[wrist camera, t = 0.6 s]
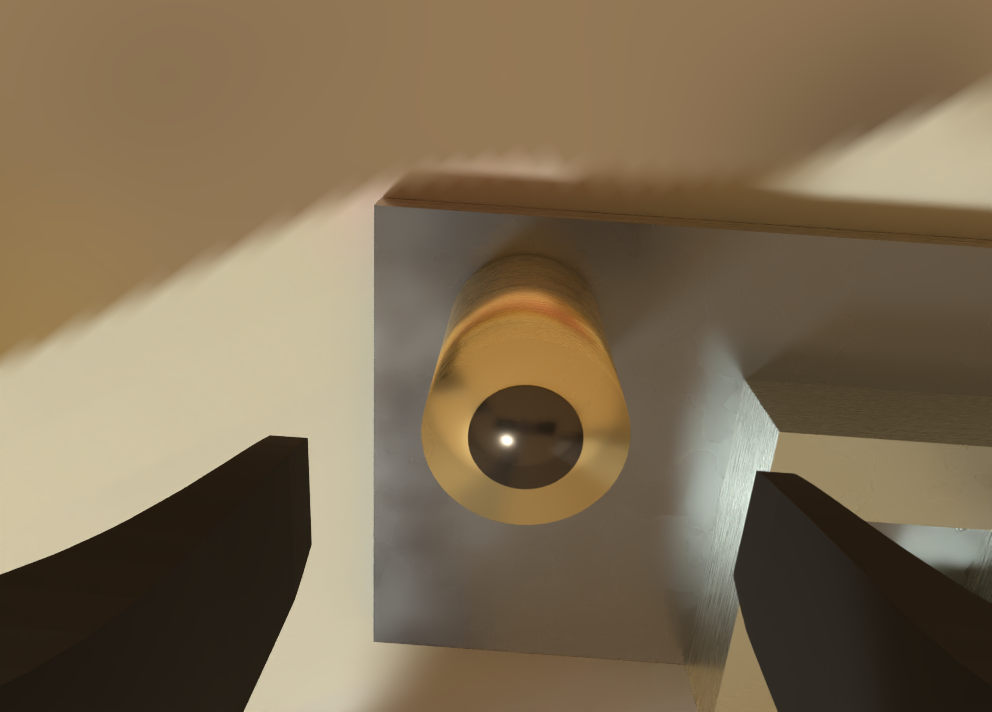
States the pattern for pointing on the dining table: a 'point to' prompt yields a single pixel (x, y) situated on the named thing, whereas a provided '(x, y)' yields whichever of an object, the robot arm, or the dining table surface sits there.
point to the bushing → (525, 396)
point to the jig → (686, 426)
